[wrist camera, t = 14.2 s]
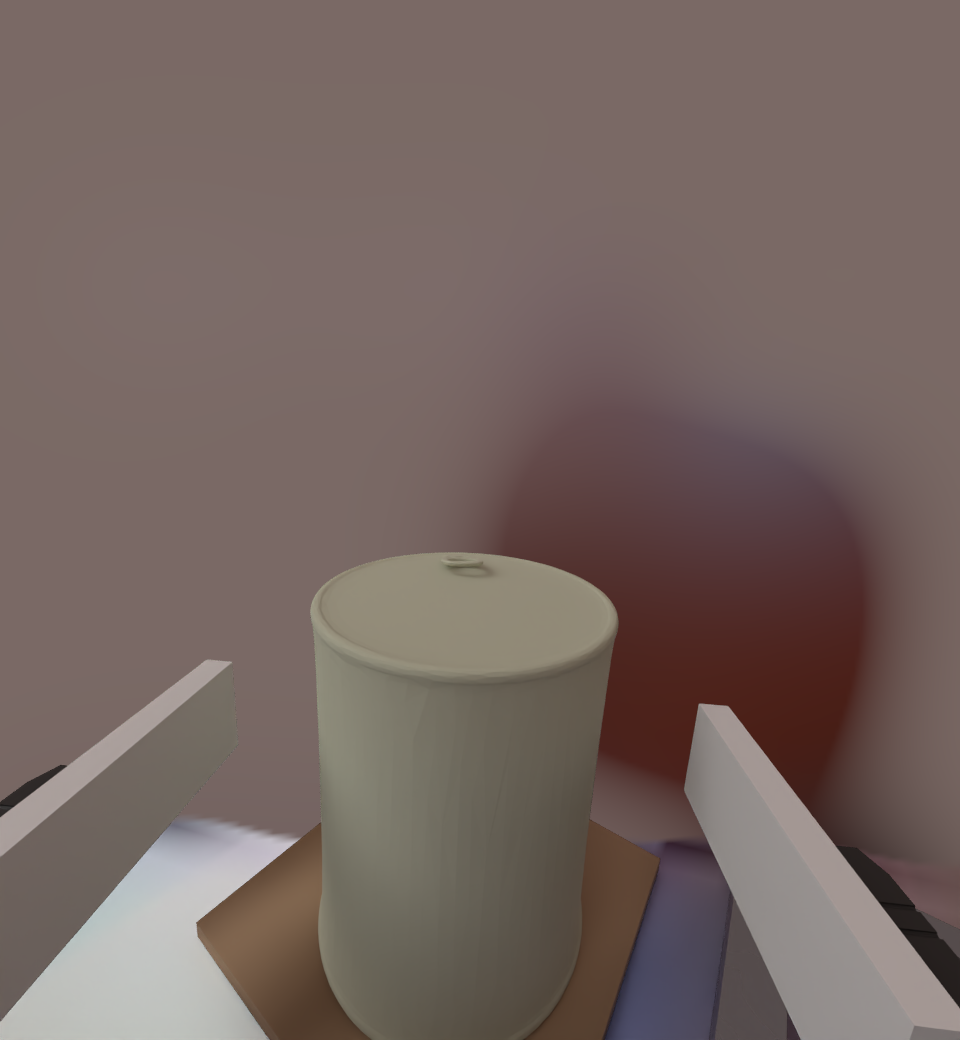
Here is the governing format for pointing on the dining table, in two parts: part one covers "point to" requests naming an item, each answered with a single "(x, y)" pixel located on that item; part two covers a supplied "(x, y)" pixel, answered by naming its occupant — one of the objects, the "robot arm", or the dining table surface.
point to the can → (456, 788)
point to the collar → (762, 983)
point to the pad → (299, 969)
